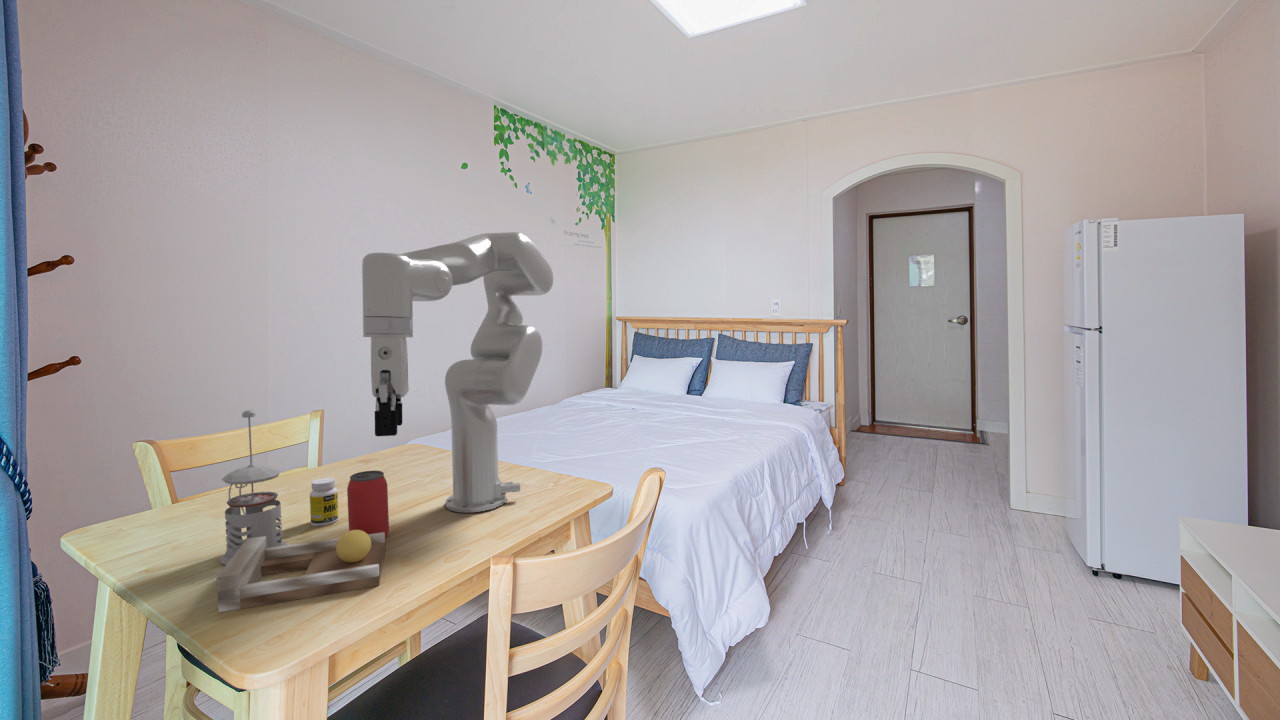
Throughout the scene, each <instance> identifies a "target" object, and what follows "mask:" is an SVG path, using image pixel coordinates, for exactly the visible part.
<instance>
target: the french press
mask: <svg viewBox="0 0 1280 720" xmlns="http://www.w3.org/2000/svg"><path fill="white" fill-rule="evenodd" d="M256 416H257V414H256V412H255V411H254V409H247V410H244V411H243V412H242V414H241V417H242V418H244V419H247V418H248V438H249V439H248V441H249V461H250V462H249V463H250V464H249V465H247V466H243V467H239V468H237V469H235V470H233V471H229V473H228V474H226V475H225V476H224V477H222V479H221V480H222V482H224V483H225V484H228V485H229V488H228V500H227V501H226V504H227V505H228V506H229V507H228V508H227V509H225V511H224V518H225V520H226V521H224V522H225V524H224V525H225V528H226V529H225V535H226V536H225V537H226V539H225V542H226V544H225V545H226V552H224V554H223V555H222V556H221V557H220V558H219V562H220V563H221V564H222V565H224V566H226V565H227V564H228V563H229V561H230V560H231V559H232V558H233V556H234V555H235V554H236V552H237V551H238V550H239V549H240V547H241V546H242V545H243V544H244V542H245V541H246V540H247V539H248V538H255V537H263V536H266V545H267V548H270V547H277V546H285V545H289V544H288V543H287V542H285V541H284V540H283V536H282V535H283V530H282V528H283V527H282V524H283V523H282V506H281V502H280V501H279V500H277V497H278V496H279V494H278V493H276V492H275V491H260V492H259V491H258V492H257V491H254V484H256V483H263V482H268V481H270V480H274V479H275V478H278V477H279V475H280V474H281V470H279V469H277V468H275V467H274V466H269V465H263V464H253V455H252V454H253V453H252V452H253V451H252V449H253V448H252V431H251V430H252V429H251V427H252V426H251V418H254V417H256ZM233 485H234V486H235V488H236V489H239V490H238V491H239V493H238V494H239V495H236V496H234V497H231V490H232V487H233ZM238 485H240V486H238ZM248 485H251V492H249V493H243V494H242V489H243V488H245V487H247V486H248ZM271 506H274V507H273V508H270V509H267V510H264V508H266V507H271ZM241 511H242V513H243V514H241ZM242 529H246V531H242ZM243 537H246V538H245V539H243Z"/></svg>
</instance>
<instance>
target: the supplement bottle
mask: <svg viewBox="0 0 1280 720" xmlns="http://www.w3.org/2000/svg"><path fill="white" fill-rule="evenodd" d="M338 497H339V496H338V489H337V488H336V479H335V478H334V477H333V478H332V477H324V478H323V477H322V478H318V479H315V480H313V481H311V491H310V493H309V509H310V510H309V511H310V524H311V525H312V526H315V527H317V526H318V527H323V526H328V525H331V524H334V523H336V522H337V521H338V520H339V504H338V503H339V501H338V500H339V498H338Z"/></svg>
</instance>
